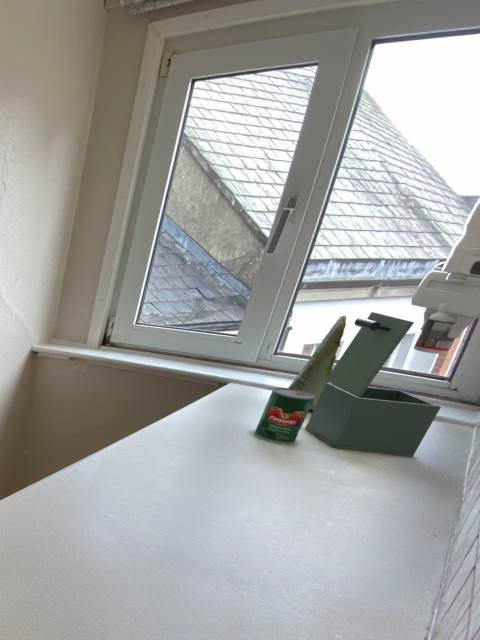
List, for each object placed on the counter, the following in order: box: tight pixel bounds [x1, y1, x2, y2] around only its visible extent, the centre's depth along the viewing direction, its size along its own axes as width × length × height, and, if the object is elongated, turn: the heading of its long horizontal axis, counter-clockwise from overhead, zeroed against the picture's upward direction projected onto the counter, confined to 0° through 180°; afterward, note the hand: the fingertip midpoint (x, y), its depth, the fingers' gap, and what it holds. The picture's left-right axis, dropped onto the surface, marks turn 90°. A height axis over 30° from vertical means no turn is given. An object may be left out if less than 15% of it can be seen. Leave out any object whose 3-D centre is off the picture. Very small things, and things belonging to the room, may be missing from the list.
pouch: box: [287, 315, 347, 411], centre depth 147 cm, size 11×12×25 cm
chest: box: [304, 382, 442, 458], centre depth 126 cm, size 16×13×12 cm
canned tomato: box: [253, 387, 315, 445], centre depth 126 cm, size 8×8×11 cm
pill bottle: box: [413, 304, 458, 355], centre depth 115 cm, size 5×5×10 cm
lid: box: [326, 311, 415, 396], centre depth 121 cm, size 16×13×5 cm
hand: (438, 334), depth 116 cm, fingers closed on pill bottle, 5 cm apart
